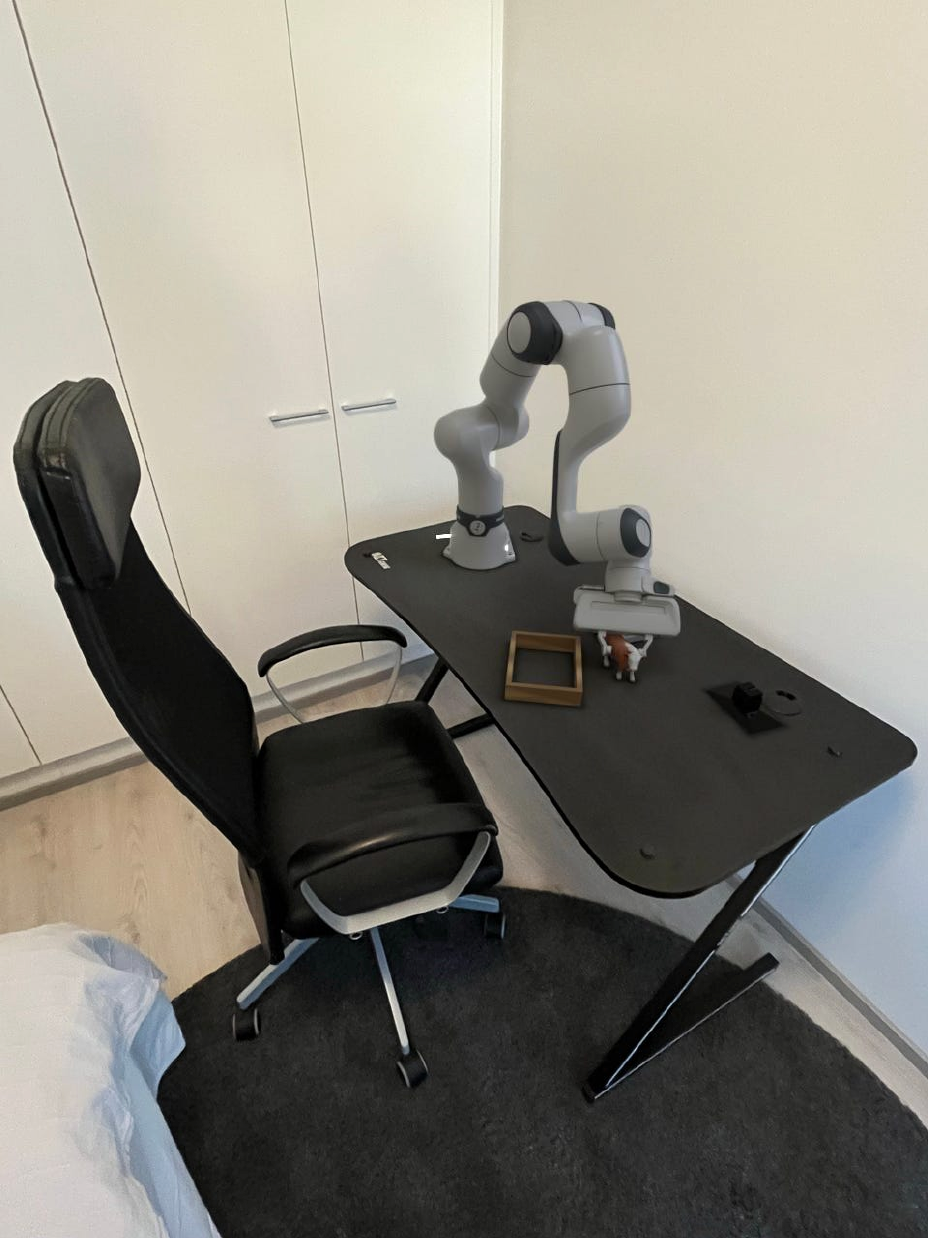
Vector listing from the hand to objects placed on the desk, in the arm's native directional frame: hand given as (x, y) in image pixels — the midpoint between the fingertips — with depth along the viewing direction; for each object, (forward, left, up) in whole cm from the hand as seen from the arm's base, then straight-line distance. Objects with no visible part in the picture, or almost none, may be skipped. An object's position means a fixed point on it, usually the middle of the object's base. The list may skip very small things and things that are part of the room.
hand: (623, 657), depth 123 cm
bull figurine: (-1, 0, -5) cm, 5 cm away
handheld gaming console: (-18, +3, -5) cm, 19 cm away
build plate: (+6, +22, -5) cm, 23 cm away
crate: (+1, -15, -5) cm, 16 cm away
